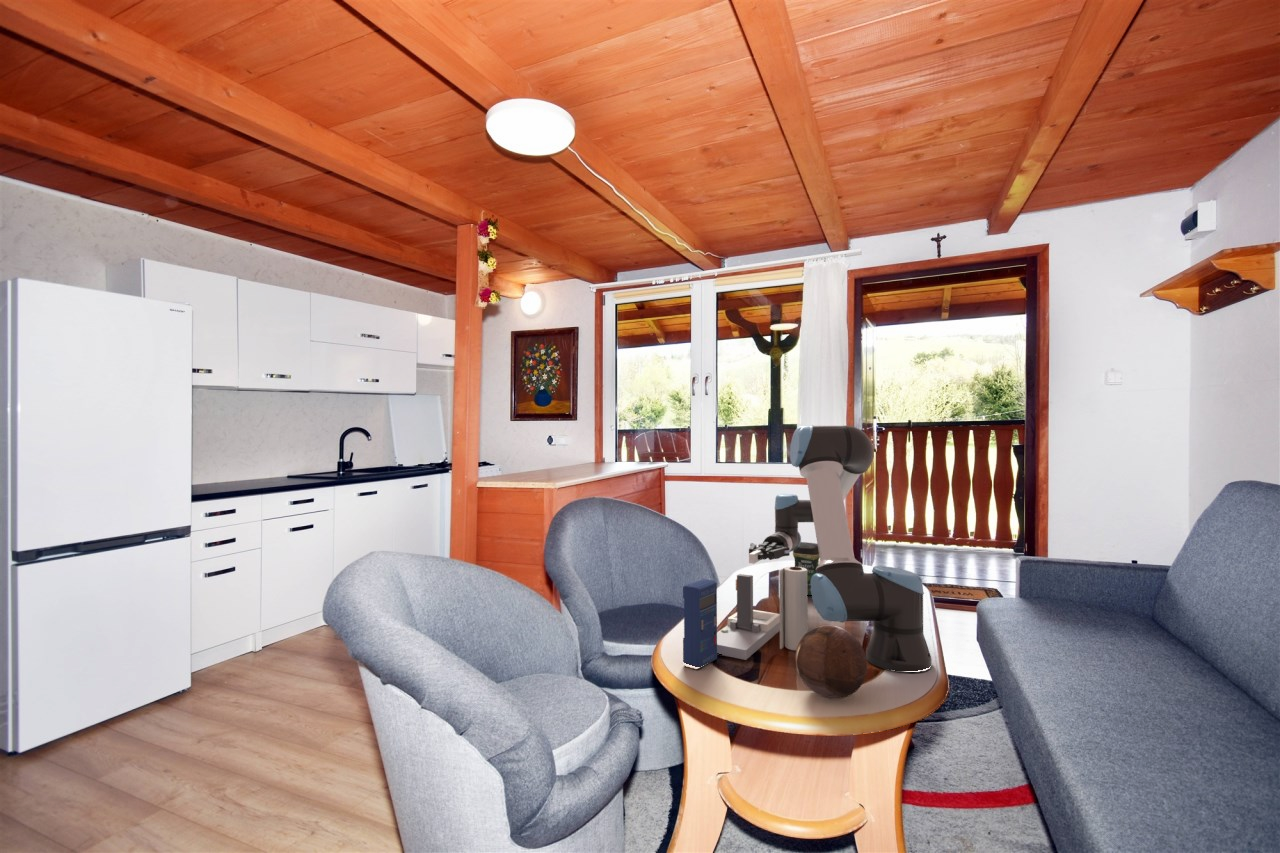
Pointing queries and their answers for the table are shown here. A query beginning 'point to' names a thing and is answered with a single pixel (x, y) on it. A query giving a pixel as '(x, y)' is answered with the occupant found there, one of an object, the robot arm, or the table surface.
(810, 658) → the wooden sphere
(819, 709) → the table surface
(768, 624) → the board
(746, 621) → the breaker lever
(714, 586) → the electronic device
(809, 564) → the coffee jar
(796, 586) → the paper towel roll
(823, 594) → the robot arm
